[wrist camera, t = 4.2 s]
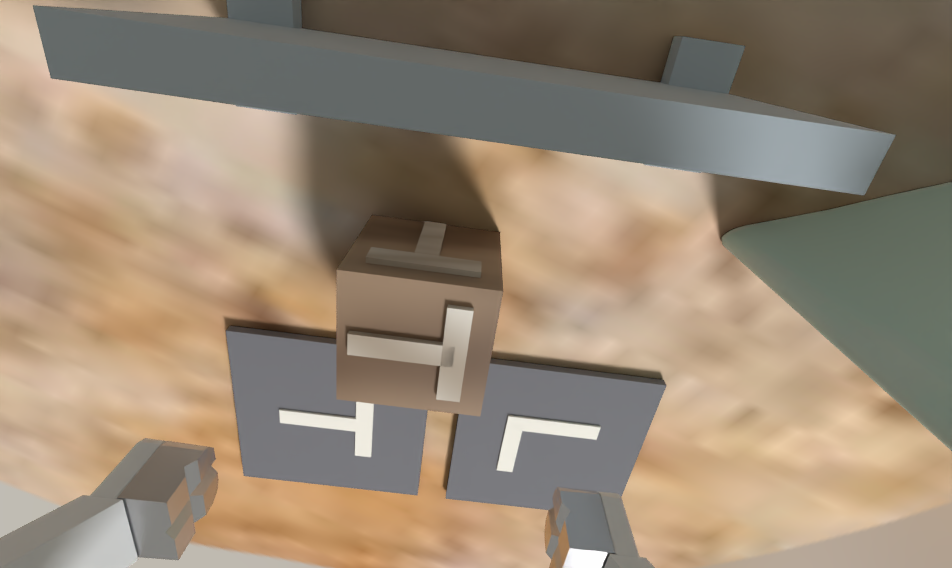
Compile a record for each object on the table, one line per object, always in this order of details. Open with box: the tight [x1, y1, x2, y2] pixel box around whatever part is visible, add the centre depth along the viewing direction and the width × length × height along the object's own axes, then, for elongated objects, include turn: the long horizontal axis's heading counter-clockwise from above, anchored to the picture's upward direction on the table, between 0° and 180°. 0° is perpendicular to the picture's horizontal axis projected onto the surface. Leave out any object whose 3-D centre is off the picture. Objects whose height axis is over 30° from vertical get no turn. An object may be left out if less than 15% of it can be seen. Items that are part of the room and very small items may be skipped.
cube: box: [336, 215, 503, 416], centre depth 18 cm, size 5×5×5 cm
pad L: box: [446, 358, 666, 510], centre depth 24 cm, size 9×9×1 cm
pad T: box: [226, 326, 427, 495], centre depth 23 cm, size 9×9×1 cm
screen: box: [33, 0, 896, 195], centre depth 13 cm, size 4×16×8 cm, turn 82°
